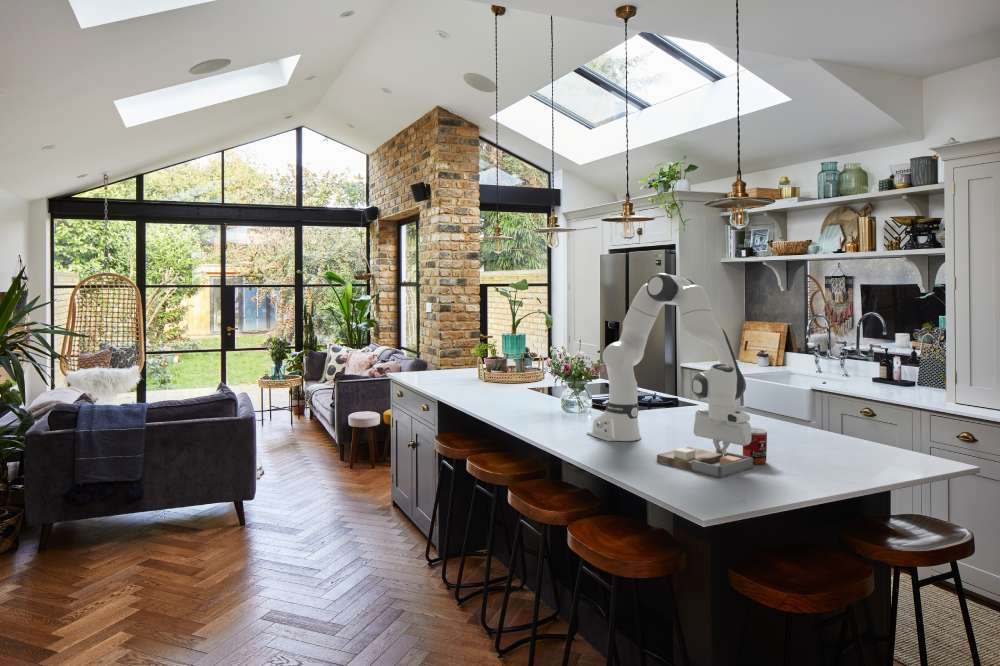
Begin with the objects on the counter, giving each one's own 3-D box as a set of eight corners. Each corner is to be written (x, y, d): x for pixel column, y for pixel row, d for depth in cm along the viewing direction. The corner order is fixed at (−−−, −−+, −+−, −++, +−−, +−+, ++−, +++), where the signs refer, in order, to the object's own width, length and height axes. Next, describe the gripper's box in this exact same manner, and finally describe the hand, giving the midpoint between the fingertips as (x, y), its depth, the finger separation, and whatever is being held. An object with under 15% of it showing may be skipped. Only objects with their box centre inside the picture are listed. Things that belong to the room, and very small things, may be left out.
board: (656, 461, 227) (657, 454, 226) (688, 453, 238) (688, 446, 238) (691, 470, 216) (691, 463, 215) (722, 461, 227) (723, 454, 227)
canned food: (752, 465, 221) (752, 433, 221) (737, 459, 229) (738, 428, 228) (771, 464, 223) (772, 432, 223) (756, 458, 231) (757, 427, 230)
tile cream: (673, 456, 223) (673, 449, 223) (682, 454, 226) (683, 447, 226) (686, 459, 219) (686, 452, 219) (695, 457, 223) (695, 450, 222)
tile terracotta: (719, 465, 220) (719, 457, 220) (728, 462, 223) (728, 455, 223) (732, 468, 216) (733, 460, 216) (741, 465, 219) (741, 458, 219)
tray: (691, 471, 215) (691, 460, 215) (725, 461, 227) (725, 451, 226) (719, 478, 207) (719, 467, 207) (752, 467, 219) (753, 457, 218)
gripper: (690, 409, 227) (689, 449, 228) (743, 419, 211) (742, 461, 212) (701, 407, 231) (700, 446, 232) (754, 416, 215) (753, 458, 216)
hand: (720, 453), depth 222 cm, fingers closed
